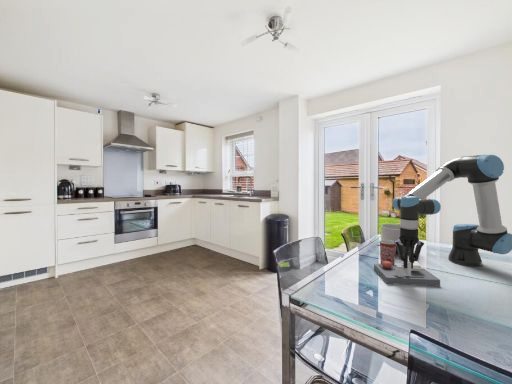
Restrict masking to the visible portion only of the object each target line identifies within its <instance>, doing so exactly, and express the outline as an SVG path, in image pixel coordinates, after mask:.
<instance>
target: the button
mask: <svg viewBox="0 0 512 384" xmlns="http://www.w3.org/2000/svg"><path fill="white" fill-rule="evenodd" d="M381 264H382V266H383V267H384V268H392V263H391V262H389V261H383V262H382V263H381Z"/></svg>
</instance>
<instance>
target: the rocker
mask: <svg viewBox="0 0 512 384" xmlns="http://www.w3.org/2000/svg"><path fill="white" fill-rule="evenodd" d="M408 261H409V256H408ZM424 269H425V268H424V266H422V264H421V263H420V262H418V261H414V263H413V268H411V271H424Z"/></svg>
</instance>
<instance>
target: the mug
mask: <svg viewBox="0 0 512 384" xmlns="http://www.w3.org/2000/svg"><path fill="white" fill-rule="evenodd" d="M395 252H396V244H395V243H394V241H391V240H381V239H380V240H379V253H380V254H379V255H380V264H382V262H383V261H389V262H391V263H392V265H395V259H396V253H395Z"/></svg>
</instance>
